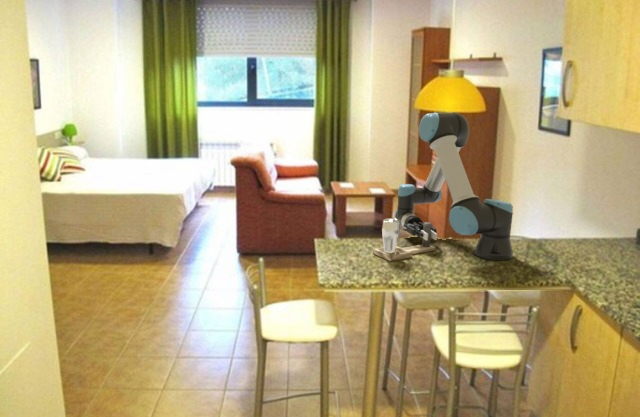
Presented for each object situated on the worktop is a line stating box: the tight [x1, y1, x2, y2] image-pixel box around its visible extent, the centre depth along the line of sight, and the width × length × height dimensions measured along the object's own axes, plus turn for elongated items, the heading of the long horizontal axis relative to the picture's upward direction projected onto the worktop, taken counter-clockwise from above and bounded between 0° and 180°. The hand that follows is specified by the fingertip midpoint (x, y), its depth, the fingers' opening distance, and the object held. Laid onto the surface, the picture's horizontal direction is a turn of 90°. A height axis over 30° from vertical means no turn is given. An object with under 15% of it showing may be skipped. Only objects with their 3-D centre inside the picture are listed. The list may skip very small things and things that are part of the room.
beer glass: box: [381, 218, 401, 255], centre depth 242 cm, size 7×7×15 cm
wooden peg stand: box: [372, 221, 436, 262], centre depth 247 cm, size 11×27×12 cm, turn 122°
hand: (431, 237), depth 247 cm, fingers closed on wooden peg stand, 3 cm apart
